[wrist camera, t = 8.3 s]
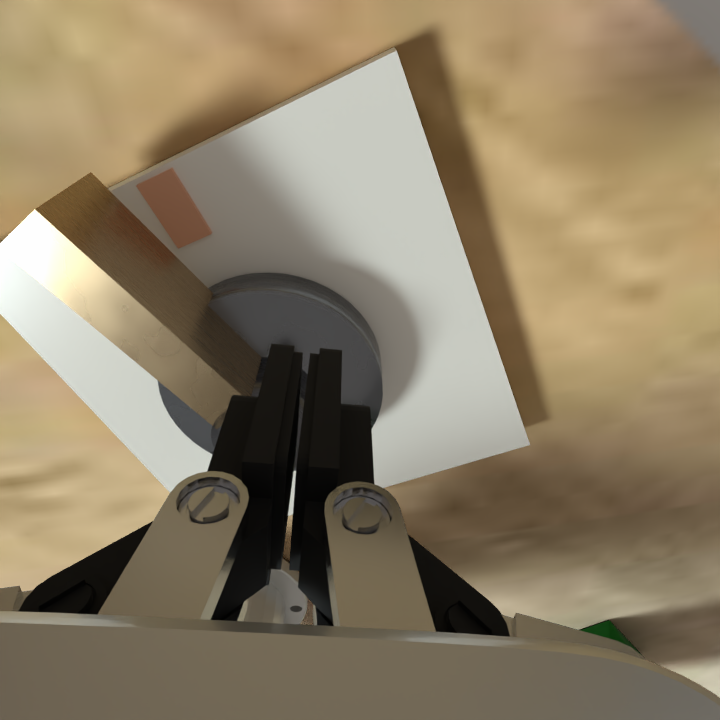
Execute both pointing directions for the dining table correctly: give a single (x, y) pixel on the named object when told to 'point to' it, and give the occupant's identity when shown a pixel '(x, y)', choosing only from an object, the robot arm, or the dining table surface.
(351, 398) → the cam dial
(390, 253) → the base plate
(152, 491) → the dining table surface
